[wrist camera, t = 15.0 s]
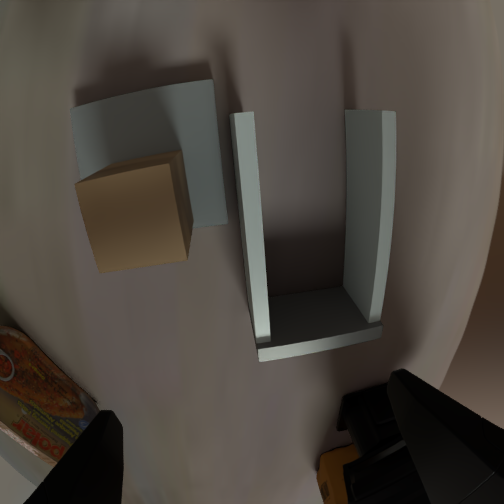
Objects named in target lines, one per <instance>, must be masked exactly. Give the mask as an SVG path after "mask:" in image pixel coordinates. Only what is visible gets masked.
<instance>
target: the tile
mask: <svg viewBox="0 0 504 504" xmlns="http://www.w3.org/2000/svg"><path fill="white" fill-rule="evenodd" d="M70 113H71V121H72V129H73V136H74V143H75V149H76V155H77V161H78V167H79V172H80V177H81V180H83V179H84V178H86V177H88V176H90V175H92V174H93V173H95V172H97V171H99V170H101V169H103V168H104V167H106V166H108V165H110V164H113V163H117V162H122V161H126V160H131V159H135V158H140V157H145V156H150V155H155V154H160V153H166V152H171V151H177V150H182V152H183V159H184V165H185V172H186V178H187V184H188V190H189V196H190V202H191V208H192V213H193V219H194V223H193V228H199V227H207V226H215V225H223V224H228V217H227V208H226V200H225V191H224V182H223V173H222V163H221V154H220V144H219V135H218V125H217V115H216V105H215V95H214V84H213V79H209V80H201V81H193V82H186V83H180V84H173V85H167V86H162V87H156V88H151V89H146V90H141V91H136V92H132V93H127V94H123V95H119V96H114V97H110V98H106V99H103V100H99V101H95V102H91V103H88V104H84V105H81V106H78V107H74V108H71V109H70Z"/></svg>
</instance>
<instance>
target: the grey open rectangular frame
mask: <svg viewBox="0 0 504 504" xmlns="http://www.w3.org/2000/svg"><path fill="white" fill-rule="evenodd" d="M229 119H230V130H231V140H232V150H233V161H234V171H235V181H236V191H237V201H238V210H239V220H240V230H241V239H242V249H243V259H244V268H245V277H246V287H247V296H248V305H249V313H250V318H251V324H252V329H253V334H254V339H255V344H256V349H257V354H258V359H259V362H262V361H269V360H275V359H281V358H287V357H293V356H299V355H304V354H310V353H315V352H320V351H325V350H330V349H335V348H340V347H344V346H349V345H353V344H358V343H362V342H366V341H370V340H374V339H378V338H381V335H382V330H383V324H382V323H381V321H380V318H381V312H382V306H383V300H384V294H385V287H386V280H387V273H388V265H389V257H390V248H391V239H392V228H393V216H394V201H395V181H396V111H383V110H345V129H346V173H347V192H346V237H345V259H344V276H343V286H339V287H333V288H327V289H321V290H314V291H308V292H302V293H295V294H288V295H282V296H275V297H268V293H267V278H266V264H265V250H264V237H263V223H262V210H261V197H260V184H259V172H258V159H257V147H256V135H255V123H254V112H243V113H233V114H229Z"/></svg>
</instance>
